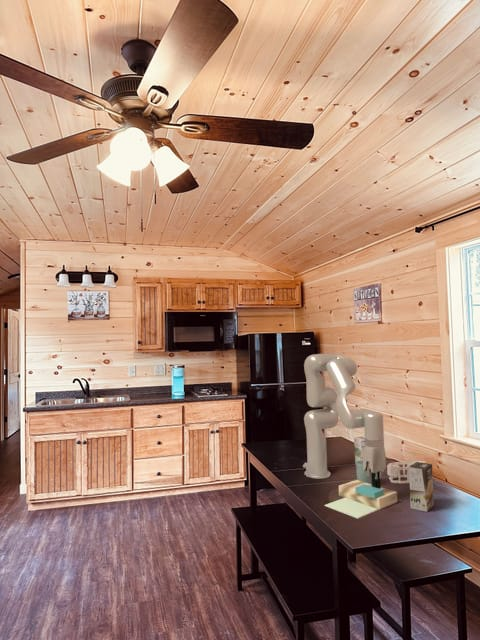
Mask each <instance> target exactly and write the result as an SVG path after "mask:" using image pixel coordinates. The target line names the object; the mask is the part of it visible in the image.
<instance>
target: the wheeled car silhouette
mask: <svg viewBox="0 0 480 640" xmlns="http://www.w3.org/2000/svg"><path fill="white" fill-rule="evenodd" d="M416 462H420V463H427V461H426V460H425V461H424V460H410V461H395V462H390V463H388V464H386V468H387V469H386V470H387V471H386V473H387V476H389V477H388V479H389V480H390V483H392V484H410V478H409V466H411V465H412V464H414V463H416ZM400 465H402V466H400ZM401 471H403V472H402V473H403V474H401ZM397 478H398V479H397ZM401 478H406V480H401ZM394 479H397V480H394Z"/></svg>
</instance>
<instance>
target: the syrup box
mask: <svg viewBox="0 0 480 640" xmlns="http://www.w3.org/2000/svg"><path fill="white" fill-rule="evenodd" d="M353 444H354V466H356V462H357V461H359V460H363V453H364V447H365V436H356V437H353Z"/></svg>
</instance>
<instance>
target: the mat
mask: <svg viewBox="0 0 480 640" xmlns="http://www.w3.org/2000/svg"><path fill="white" fill-rule="evenodd" d="M324 507H327V508H328V509H332V510H334V511H337V512H339V513H342V514H345V515H346V516H347V515H348V516H350V517H352V518H355V519H361V518H362V517H365V516H368V515H370V514H372V513H375V512H377V511H379V509H377V508H374V507H371V506H368V505H365V504H362V503H359V502H357V501H354V500H351V499H348V498H345V497H342V498H340V499H337V500H335V501H332V502H329V503H326V504H324Z"/></svg>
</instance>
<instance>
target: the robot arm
mask: <svg viewBox="0 0 480 640" xmlns="http://www.w3.org/2000/svg"><path fill="white" fill-rule="evenodd" d="M303 367H304V369H303V370H304V374H305V379H306V381H305V382H306V402H307V405H308V406H309V407H310V408H319V409H312V410H309V411H307V412H306V413H305V414H304V417H303V421H304V422H303V423H304V428H305V432H306V433H305V434H306V455H307V462H304V464H303V465H302V468H305V469H306V470H305V471H304V476H305V475H306V477H307V478H311V479H316V480H317V479H327V478H329V477H331V472H330V471H329V470H328V455H327V454H328V453H327V452H328V451H327V449H328V448H327V437H326V435H325V433H324V432H323V430H325V429H333V428H335V427H336V426H337V425H338V423H339V421H340V422H341V423H342V425H343V426H344V427H345V428H347V429H349V430H350V429H352V430H353V429H361V428H364V437H365V447H364V453H363V470H364V471H367V474H366V475H367V476H370V478H371V482H372V487H376V488H379V489H381V487H382V485H381V478H382V474H383V473H384V472H385V469H386V468H387V457H386V455H387V454H386V449H385V434H384V433H385V432H384V416H383V414H382V413H381V412H378V411H372V410H370V409H366V408H363V409H352V410H351V409H350V407H349V406H348V403H347V396H349V395H351V394H352V393H353V392H354V391H355V390H356V384H355V383H354V381H353V380H354V379H353V378H352V377H353V376H355V375H356V374H357V371H358V366H357V364H356V362H355V361H354V360H353V359H352V358H349V357H347V356H344V355H341V354H339V353H317V354H315V353H314V354H311V355H309V356H307V357H306V359H305V360H304V363H303ZM321 372H327V373H328V376H329V378H330V380H331V383H332V384H333V386H334V388H335V389H334V388H333V387H331V386H326V387H325V386H324V384H325V383H324V382H325V381H324V377H323V374H321ZM320 408H321V409H320Z"/></svg>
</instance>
